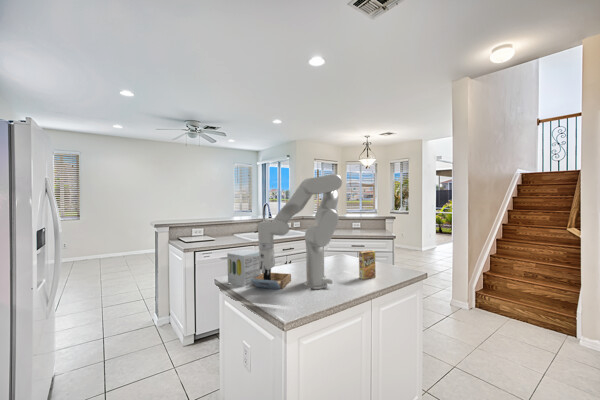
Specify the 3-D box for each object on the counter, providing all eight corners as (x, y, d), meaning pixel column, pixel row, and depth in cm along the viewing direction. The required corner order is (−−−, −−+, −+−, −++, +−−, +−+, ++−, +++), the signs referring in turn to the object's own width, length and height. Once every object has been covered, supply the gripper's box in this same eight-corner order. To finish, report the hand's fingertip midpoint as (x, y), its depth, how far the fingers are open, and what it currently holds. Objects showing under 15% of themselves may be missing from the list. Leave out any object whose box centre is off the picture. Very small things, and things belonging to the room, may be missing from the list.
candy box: (363, 279, 158) (362, 252, 157) (358, 277, 161) (358, 251, 161) (375, 277, 161) (375, 251, 161) (371, 275, 165) (371, 250, 165)
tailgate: (281, 287, 141) (276, 280, 135) (280, 290, 140) (275, 283, 134) (256, 285, 145) (251, 278, 139) (256, 288, 144) (250, 281, 138)
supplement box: (227, 284, 152) (226, 252, 151) (244, 278, 162) (244, 248, 162) (244, 289, 144) (243, 255, 144) (261, 282, 155) (261, 251, 154)
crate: (291, 282, 153) (291, 273, 153) (282, 291, 140) (282, 281, 140) (264, 280, 158) (264, 272, 158) (253, 288, 145) (253, 279, 144)
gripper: (267, 249, 132) (268, 287, 132) (278, 243, 146) (279, 278, 146) (252, 248, 134) (253, 286, 134) (265, 243, 148) (266, 277, 149)
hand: (267, 281), depth 140 cm, fingers closed
